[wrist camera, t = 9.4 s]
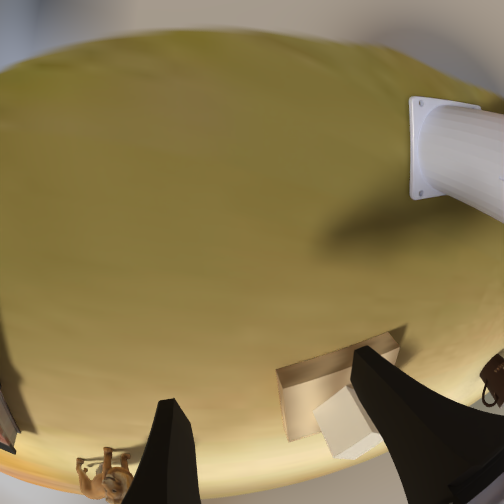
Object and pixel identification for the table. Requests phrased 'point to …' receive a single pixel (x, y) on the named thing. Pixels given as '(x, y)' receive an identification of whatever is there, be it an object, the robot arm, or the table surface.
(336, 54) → the table surface
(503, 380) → the coffee mug
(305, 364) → the oak block
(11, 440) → the book
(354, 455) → the white block
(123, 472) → the lion figurine
